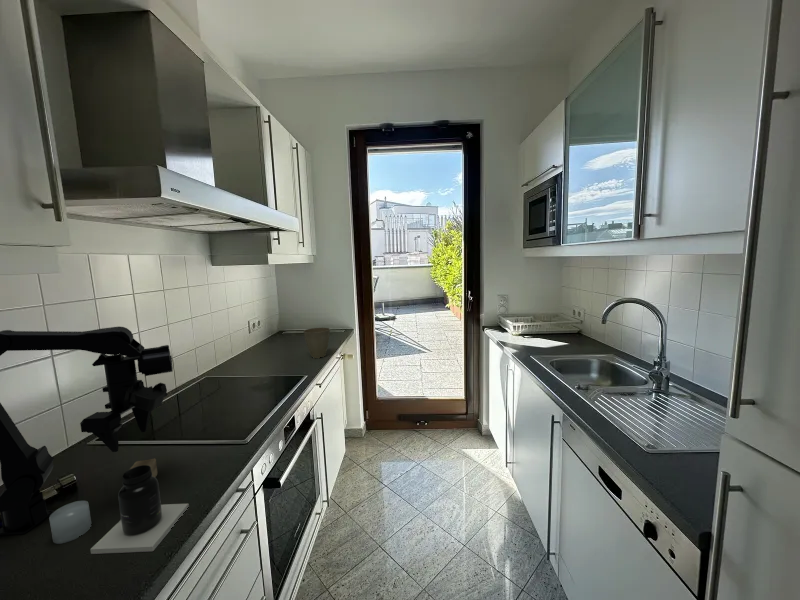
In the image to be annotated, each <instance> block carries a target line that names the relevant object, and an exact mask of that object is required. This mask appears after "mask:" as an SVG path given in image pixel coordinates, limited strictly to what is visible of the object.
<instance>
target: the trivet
mask: <svg viewBox="0 0 800 600" xmlns="http://www.w3.org/2000/svg"><path fill="white" fill-rule="evenodd" d="M188 507H189V508H190V505H189V503H171V504H170V503H169V504H168V503H166V504H161V510H162V517H161V519H160V521H159V522H158V523H157V524H156V525H155V526H154V527H153V528H151V529H150V530H148V531H146V532H144V533H141V534H137V535H127V534H125V533H124V532H123V529H122V523H121V519H120V520H119V521H118V522H117V523H116V524H115V525H114V526H113V527H112V528H111V529H110V530H109V531H108V532H107V533H106V534H104V535H103V537H101V539H99V540H98V542H96V543H95V544H94V545H93V546H92V547H91V548H90V554H91V555H96V554H97V555H98V554H100V555H101V554H121V553H123V554H125V553H142V552H143V553H144V552H146V553H147V552H154V551H155V550H156V549H157V547H158V546H159V545H160V543H161V542H162V541H163V540H164V538H166V536H167V535H168V534H169V533H170V531H171V530H172V529H173V528H172V527H175V525H176V524H177V523H178V522H177V521H179V520H180V519H181V518H182V517H181V516H184V514H185V513H186V512H187V511H188V509H189V508H188ZM187 508H188V509H187ZM186 510H187V511H186ZM185 511H186V512H185ZM184 512H185V513H184ZM183 513H184V514H183ZM180 517H181V518H180ZM179 518H180V519H179ZM178 519H179V520H178ZM176 522H177V523H176ZM175 523H176V524H175ZM174 524H175V525H174ZM171 528H172V529H171Z"/></svg>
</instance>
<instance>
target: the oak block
mask: <svg viewBox="0 0 800 600" xmlns="http://www.w3.org/2000/svg"><path fill="white" fill-rule="evenodd" d="M142 465H147V466H150V467H151V472H152V476H153V477H155V478H157V475H158V466H157V465H158V464H157V458H150V459H145V460H144V459H143V460H136V461H135V462H134V464H132V466H131V467H129V470H130V469H132V468H134V467H137V466H142Z"/></svg>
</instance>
